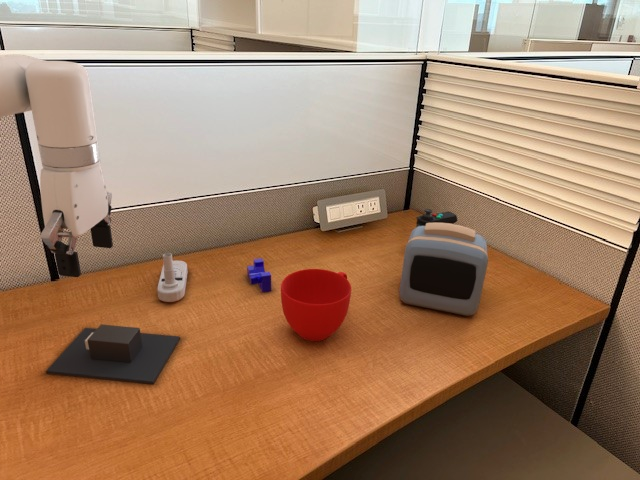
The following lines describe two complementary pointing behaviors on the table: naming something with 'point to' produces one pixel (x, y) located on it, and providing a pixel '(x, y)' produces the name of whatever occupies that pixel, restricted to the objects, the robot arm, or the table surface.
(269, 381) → the table surface
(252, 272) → the cable holder
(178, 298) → the electronic device
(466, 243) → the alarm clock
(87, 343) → the block
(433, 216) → the controller
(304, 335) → the ceramic cup
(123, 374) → the desk mat
